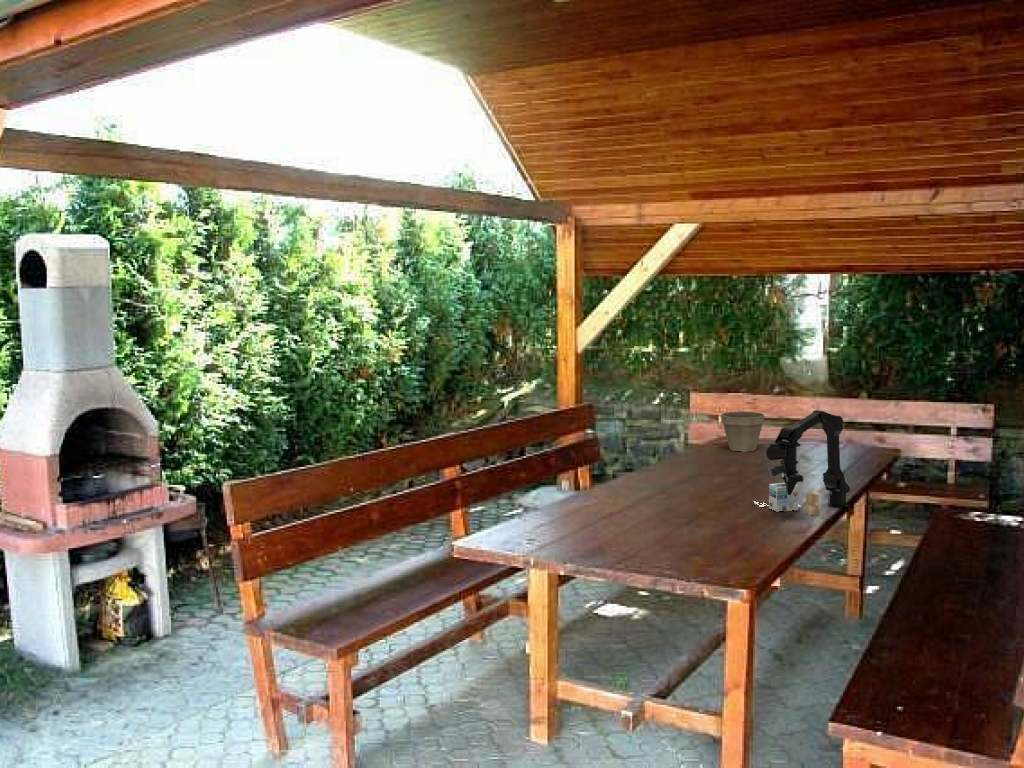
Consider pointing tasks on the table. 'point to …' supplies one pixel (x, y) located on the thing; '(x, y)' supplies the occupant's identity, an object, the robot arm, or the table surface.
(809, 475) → the table surface
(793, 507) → the light bulb box
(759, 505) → the white flat board
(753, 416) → the plant pot
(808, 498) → the oak block
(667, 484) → the table surface
